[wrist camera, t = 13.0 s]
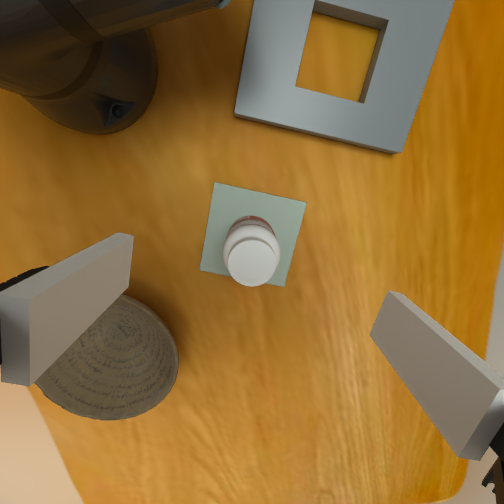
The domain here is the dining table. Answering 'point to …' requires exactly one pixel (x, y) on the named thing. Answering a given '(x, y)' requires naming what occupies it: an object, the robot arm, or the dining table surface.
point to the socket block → (377, 80)
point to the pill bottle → (251, 251)
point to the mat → (243, 204)
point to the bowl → (115, 365)
